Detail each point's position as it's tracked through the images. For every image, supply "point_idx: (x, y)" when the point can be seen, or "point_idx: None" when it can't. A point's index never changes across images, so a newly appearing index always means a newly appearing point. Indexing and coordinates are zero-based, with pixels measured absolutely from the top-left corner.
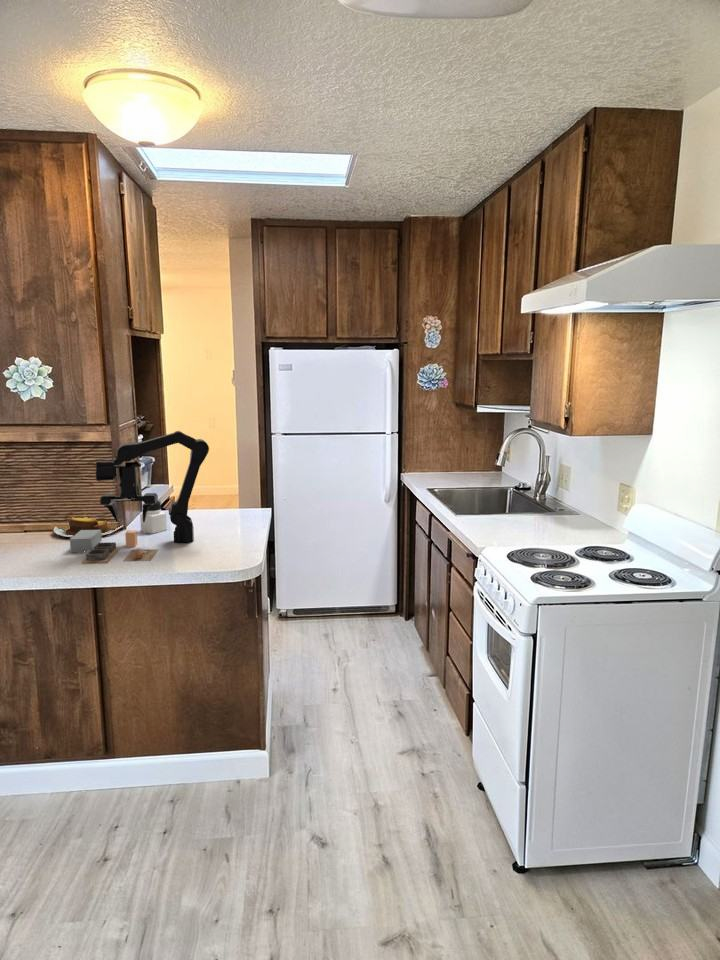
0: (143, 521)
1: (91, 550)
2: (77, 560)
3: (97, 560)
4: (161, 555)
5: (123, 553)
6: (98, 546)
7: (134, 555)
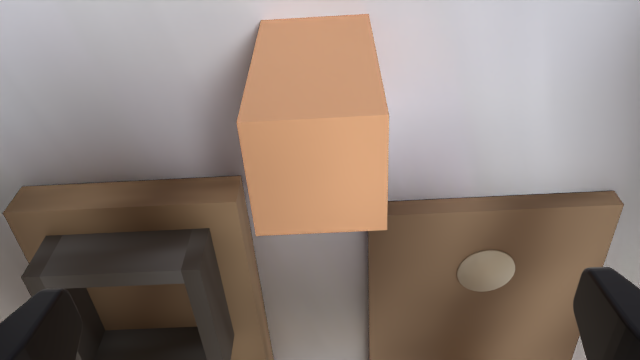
0: (585, 325)
1: None
2: None
3: None
4: (629, 278)
5: None
6: None
7: (423, 334)
